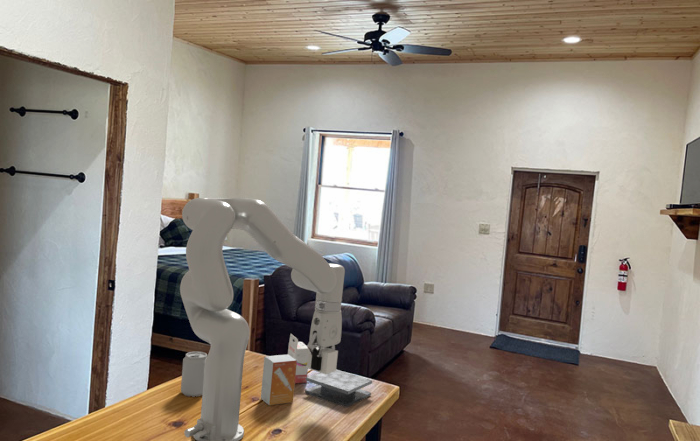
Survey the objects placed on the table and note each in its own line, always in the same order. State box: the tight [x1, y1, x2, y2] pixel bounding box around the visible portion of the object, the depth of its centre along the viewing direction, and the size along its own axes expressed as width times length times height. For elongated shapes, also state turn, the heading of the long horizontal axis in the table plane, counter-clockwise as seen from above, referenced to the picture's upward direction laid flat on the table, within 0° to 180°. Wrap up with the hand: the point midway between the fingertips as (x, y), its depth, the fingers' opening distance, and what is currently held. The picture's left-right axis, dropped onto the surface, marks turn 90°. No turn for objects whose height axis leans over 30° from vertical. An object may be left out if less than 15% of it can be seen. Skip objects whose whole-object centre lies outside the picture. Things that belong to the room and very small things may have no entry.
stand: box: [304, 368, 373, 408], centre depth 174 cm, size 14×16×5 cm
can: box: [180, 351, 208, 398], centre depth 164 cm, size 8×8×12 cm
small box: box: [260, 353, 297, 406], centre depth 164 cm, size 8×6×13 cm
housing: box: [307, 347, 339, 374], centre depth 160 cm, size 5×7×6 cm
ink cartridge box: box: [287, 333, 309, 384], centre depth 185 cm, size 9×5×15 cm, turn 25°
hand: (321, 367), depth 160 cm, fingers closed on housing, 5 cm apart
